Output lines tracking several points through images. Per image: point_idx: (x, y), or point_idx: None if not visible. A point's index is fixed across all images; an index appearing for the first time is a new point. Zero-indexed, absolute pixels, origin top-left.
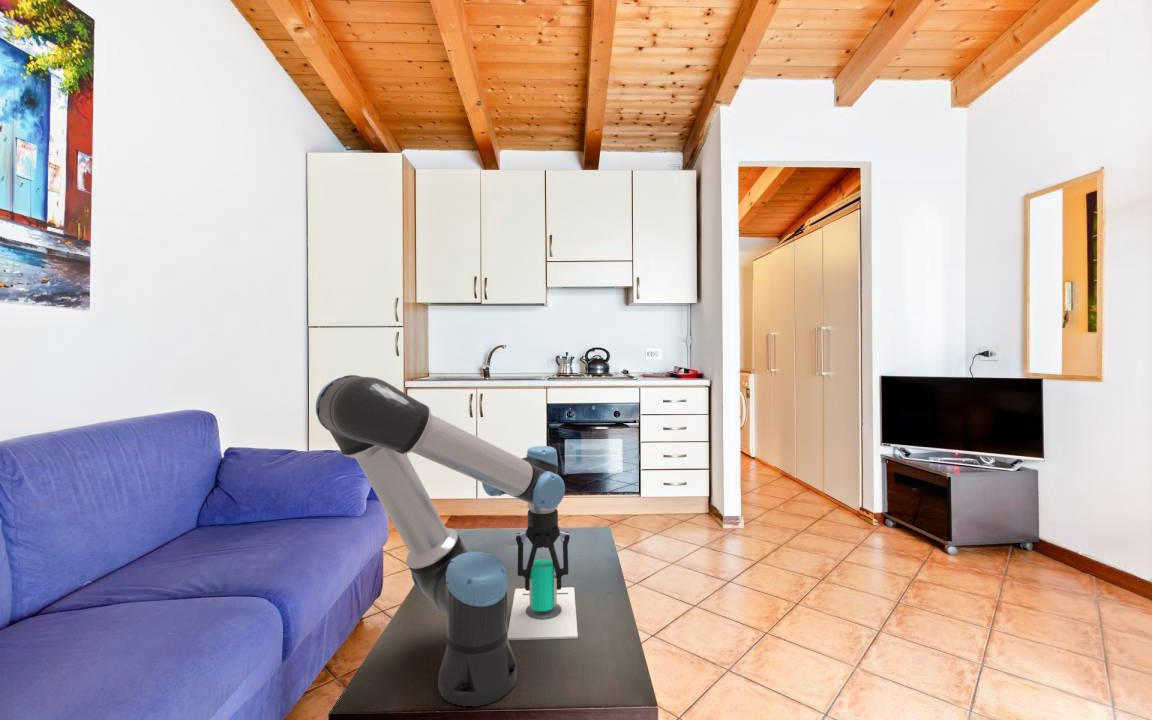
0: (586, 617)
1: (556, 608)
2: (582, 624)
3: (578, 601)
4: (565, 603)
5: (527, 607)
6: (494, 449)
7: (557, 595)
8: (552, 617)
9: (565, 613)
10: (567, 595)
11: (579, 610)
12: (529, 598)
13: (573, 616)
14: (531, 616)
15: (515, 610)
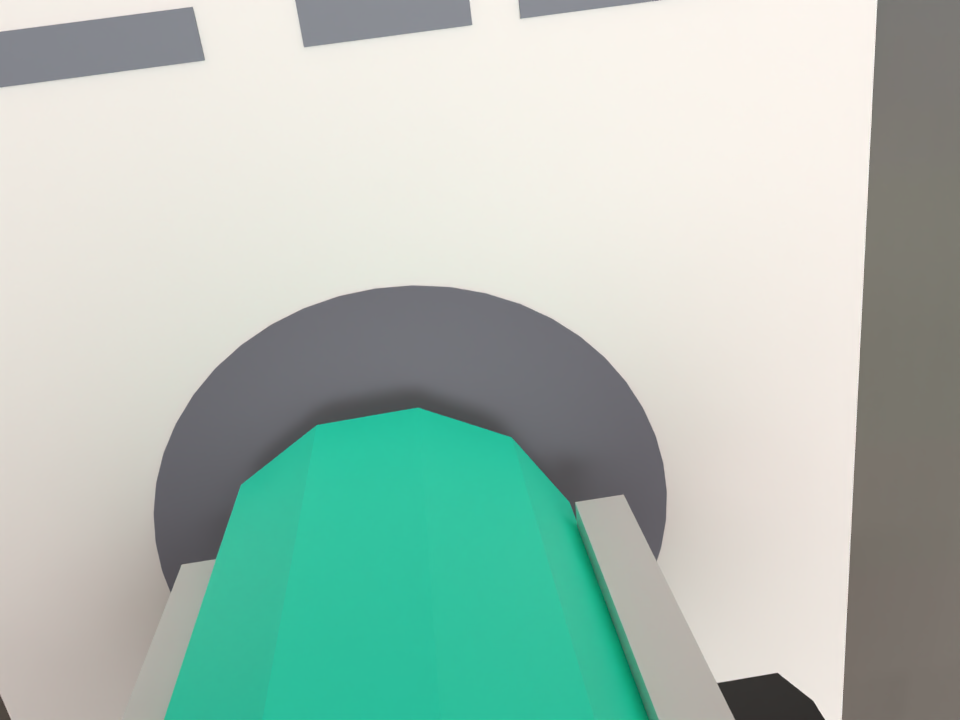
0: (955, 557)
1: (593, 476)
2: (891, 687)
3: (904, 166)
4: (716, 316)
5: (162, 498)
6: None
7: (575, 56)
8: None
9: (716, 565)
10: (752, 46)
11: (891, 416)
12: (94, 208)
13: (814, 617)
14: None
15: (12, 581)
